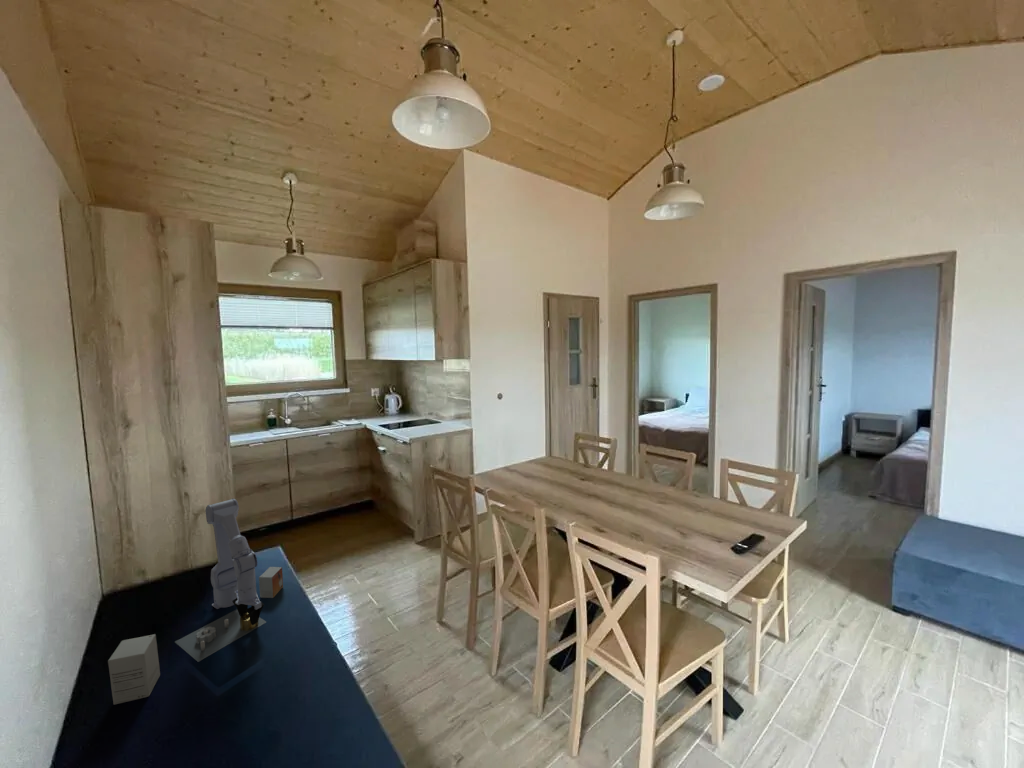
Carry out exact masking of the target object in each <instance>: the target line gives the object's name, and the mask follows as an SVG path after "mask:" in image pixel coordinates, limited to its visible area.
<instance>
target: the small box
mask: <svg viewBox="0 0 1024 768" xmlns="http://www.w3.org/2000/svg"><path fill="white" fill-rule="evenodd" d="M283 575H284V574H283V567H282V566H280V567H279V566H269V567H268V568H267V569H266V570H265V571H264V572H263V573H262V574H260V576H258V584H259V585H258V586H259V597H260V598H259V599H261V598H262V599H267V598H268V599H273V598H275V596H276V595H277V594H279V592H280V591H281V590H282V589H283V588H284V581H283V580H284V579H283V578H284V576H283Z"/></svg>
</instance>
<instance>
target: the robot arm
mask: <svg viewBox="0 0 1024 768" xmlns="http://www.w3.org/2000/svg"><path fill="white" fill-rule="evenodd" d="M238 502H239V501H238V500H237V499H235V498H231V499H227V500H224V501H220V502H215V503H212V504H208V505H206V507H205V511H204V512H205V517H206V518H205V519H206V523H207V524H208V525H212V526H213V532H214V534H213V535H214V541H215V547H216V555H217V563H216V564H215V566H213V568H211V570H210V583H211V586H212V588H213V590H212V591H213V602H214V603H212V604H211V606H212V607H214V608H215V609H216V610H218V609H220V608H228V607H232V606H235V607H236V609H237V610H238V612H239V615H240V617H241V616H242V615H243V614H244V613H246V612H247V613H248V615H249V617H250V622H251V624H252V625H254V624H256V623H258V620H259V617H261V616H260V615H261V612H262V611H263V610H262V609H263V608H264V607H265V603H263V602H262V601H260V598H259V596H258V595H259V594H258V593H257V582H256V581H257V580H256V568H257V567H258V558H257V554H256V553H255V552H254V551H253V549H251V548H250V545H249V543H248V540H247V538H246V536H244V535H242V534H241V531H240V528H239V525H238V520H237V517H238V515H239V510H240V508H239V507H240V506H239V503H238ZM249 606H250V607H249Z"/></svg>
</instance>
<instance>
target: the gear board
mask: <svg viewBox="0 0 1024 768" xmlns="http://www.w3.org/2000/svg"><path fill="white" fill-rule="evenodd" d="M266 623H267V621H266V620H264V619H263V618H262V617H261V616H259V620H258V625H257V626H256V627H255V628H253V629H250V630H249V631H245V630H243V631H242V630H241V628H240V615H239V612H238V610H237V608H236V609H235V610H233V611H231V612H229V613H227V614H225V615H223V616H221V617H219V618H217V619H215V620H214V621H211V622H210V623H208V624H206V625H204V626H203V627H200V628H198V629H197V630H195V631H193V632H191V633H188V634H186V635H185V636H182V637H181V638H180V639H177V640H175V641H174V643H175V644H176V645H177V646H179V647H180V648H181V649H182V650H183V651H184V652H186V653H187V654H188V655H189V656H190V657H192V658H193V659H194V660H195V661H197V663H199V662H201V661H202V660H204V659H206V658H207V657H210V656H211V655H213V654H214V653H216V652H218V651H220V650H221V649H223V648H225V647H226V646H229V645H230V644H232V643H234V642H235V641H237V640H238V639H240V638H242V637H243V636H246V635H247V634H249V633H251V632H253V631H254V630H256V629H258V628H259V627H261V626H263V625H265V624H266Z"/></svg>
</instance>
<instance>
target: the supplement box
mask: <svg viewBox="0 0 1024 768" xmlns="http://www.w3.org/2000/svg"><path fill="white" fill-rule="evenodd" d="M158 652H159V651H158V643H157V635H156V633H154V634H150V635H143V636H140V637H134V638H129V639H128V638H127V639H123V640H121V641H120V643H119V644H118V646H117V647H116V649H115V650H114V652H113V653H112V654H111V656H110V657H109V659H108V660H107V665H108V671H109V677H110V688H111V696H112V701H113V702H112V703H113V705H118V704H123V703H126V702H131V701H132V702H133V701H135V700H136V701H137V700H140V699H143V698H147V697H150V695H151V694H152V691H153V690H154V687H155V685H156V684H157V682H158V680H159V678H160V676H161V671H160V670H161V669H160V662H159V661H160V660H159V653H158Z"/></svg>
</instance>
